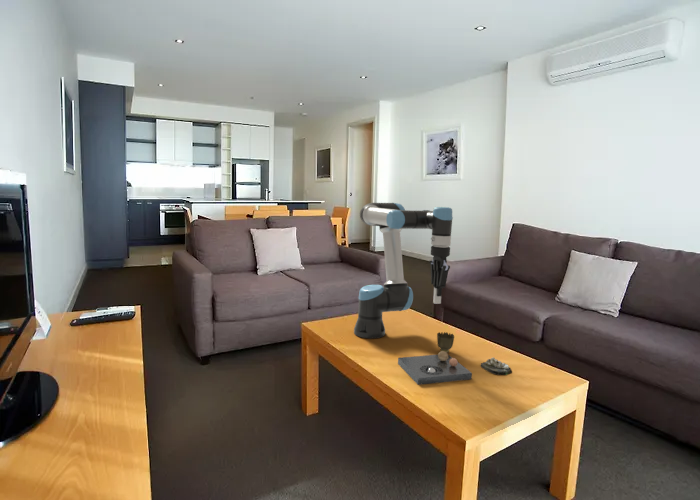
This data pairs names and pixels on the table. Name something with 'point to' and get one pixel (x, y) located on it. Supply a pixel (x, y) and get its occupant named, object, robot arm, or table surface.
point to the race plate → (444, 371)
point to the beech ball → (443, 356)
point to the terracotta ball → (453, 362)
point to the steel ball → (431, 370)
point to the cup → (445, 341)
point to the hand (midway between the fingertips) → (436, 303)
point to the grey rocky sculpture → (496, 367)
